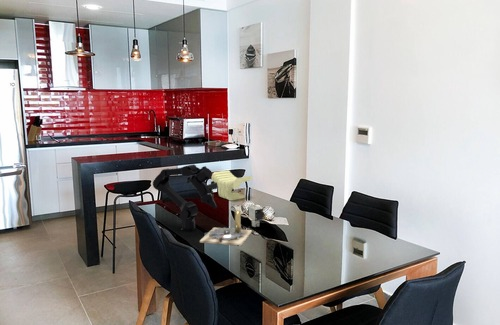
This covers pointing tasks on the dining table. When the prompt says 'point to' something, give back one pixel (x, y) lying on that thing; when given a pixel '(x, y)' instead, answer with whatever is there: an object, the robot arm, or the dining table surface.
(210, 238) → the sprocket base
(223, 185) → the slatted curved stool
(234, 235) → the sprocket
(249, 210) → the pneumatic valve
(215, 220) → the dining table surface
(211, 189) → the robot arm
